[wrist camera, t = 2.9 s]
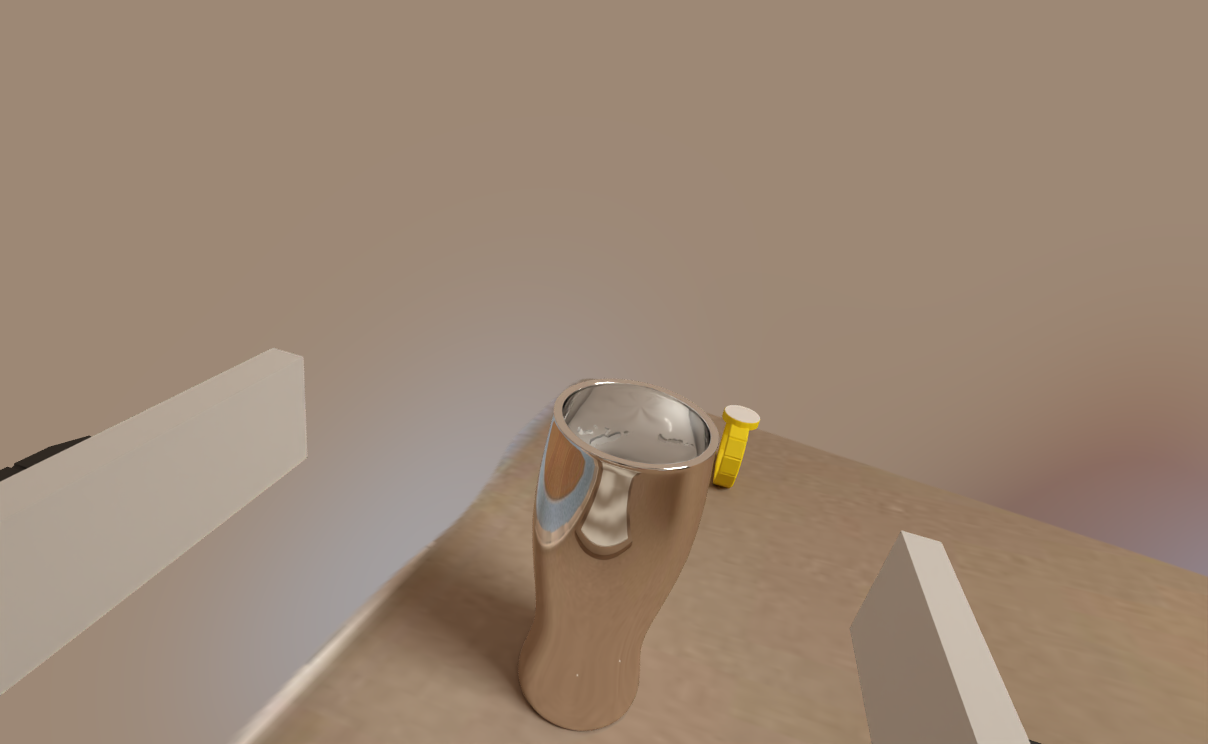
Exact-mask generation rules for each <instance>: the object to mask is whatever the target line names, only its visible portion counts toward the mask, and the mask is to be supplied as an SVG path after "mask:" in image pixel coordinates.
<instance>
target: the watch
mask: <svg viewBox="0 0 1208 744" xmlns="http://www.w3.org/2000/svg"><path fill="white" fill-rule="evenodd" d="M722 417H723V419H724V421H725V422H726V426H725V429H724V432H723V435H722V439H721V443H720V446H719V450H718V454H717V458H716V463H715V471H714V478H713V484H716V485H719V486H723V487H726V488H730V487H732V486H733V484H734V482H735V479H736V477H737V474H738V471H739V468H740V465H741V462H742V458H743V454H744V451H745V447H746V442H747V438H748V433H749V430H754V429H756V428H757V427H758V424H759V421H760V417H759V415H758V414H757V413H756V412H754V411H753V410H751V409H749V408H746V407H743V406H737V405H731V406H727V407H725V409H724V412H723V415H722Z"/></svg>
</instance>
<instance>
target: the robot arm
mask: <svg viewBox="0 0 1208 744" xmlns="http://www.w3.org/2000/svg"><path fill="white" fill-rule="evenodd" d="M306 458H307V438H306V411H305V385H304V357H303V356H300V355H296V354H293V353H289V352H286V351H282V350H279V349H275V348H272V349H270V350H268V351H266V352H264V353H262V354H259V355H258V356H255V357H253V358H251V359H249V360H247V361H245V362H243V363H241V364H239V365H237V366H235V367H233V368H231V369H229V370H227V371H225V372H223V373H221V374H219V375H217V376H215V377H213V378H211V379H209V380H206V381H205V382H202V383H200V384H198V385H196V386H194V387H192V388H190V389H188V390H186V391H184V392H182V393H180V394H178V395H176V396H174V397H172V398H170V399H168V400H166V401H164V402H162V403H160V404H158V405H155V406H153V407H152V408H149V409H147V410H145V411H143V412H142V413H139V414H137V415H135V416H133V417H131V418H129V419H127V420H125V421H123V422H121V423H119V424H117V425H115V426H113V427H111V428H109V429H107V430H105V431H103V432H101V433H99V434H96V435H94V436H92V437H91V436H86V437H83V438H79V439H75V440H72V441H68V442H65V443H61V444H58V445H54V446H51V447H48V448H46V449H44V450H42V451H40V452H38V453H36V454H33V455H31V456H29V457H27V458H25V459H23V460H21V461H19V462H16V463H15V464H14V466H13V467H12V468H9V467H6V468H4V469H2V470H0V695H2V694H3V693H4V692H6V691H7V690H8V689H10V688H11V687H12V686H13V685H15V684H16V683H17V682H19V680H21V679H22V678H24V677H25V676H26V675H28V674H29V673H30V672H31V671H33V670H34V669H35V668H37V667H38V666H39V665H40V664H42V663H43V662H44V661H46V660H47V659H48V658H49V657H51V656H52V655H53V654H55V653H56V652H57V651H58V650H60V649H61V648H62V647H64V646H65V645H66V644H67V643H69V642H70V641H71V640H73V639H74V638H75V637H77V636H78V635H79V634H80V633H82V632H83V631H84V630H86V629H87V628H88V627H89V626H91V625H92V624H93V623H95V622H96V621H97V620H98V619H100V618H101V617H102V616H104V615H105V614H106V613H108V612H109V611H110V610H111V609H113V608H114V607H115V606H117V605H118V604H119V603H120V602H122V601H123V600H124V599H125V598H127V597H128V596H129V595H130V594H132V593H133V592H134V591H136V590H137V589H138V588H140V587H141V586H142V585H144V584H145V583H146V582H147V581H149V580H150V579H151V578H153V577H154V576H155V575H156V574H158V573H159V572H160V571H162V570H163V569H164V568H165V567H167V566H168V565H169V564H171V563H172V562H173V561H175V560H176V559H177V558H178V557H180V556H181V555H182V554H183V553H185V552H186V551H187V550H189V549H190V548H191V547H193V546H194V545H195V544H196V543H198V542H199V541H200V540H202V539H203V538H204V537H206V536H207V535H208V534H209V533H211V532H212V531H213V530H214V529H216V528H217V527H218V526H220V525H221V524H222V523H224V522H225V521H226V520H227V519H229V518H230V517H231V516H232V515H234V514H235V513H236V512H238V511H239V510H240V509H242V508H243V507H244V506H245V505H247V504H248V503H249V502H251V501H252V500H253V499H254V498H256V497H257V496H258V495H260V494H261V493H262V492H263V491H265V490H266V489H267V488H269V487H270V486H271V485H273V484H274V483H275V482H276V481H278V480H279V479H280V478H282V477H283V476H284V475H285V474H287V473H288V472H289V471H291V470H292V469H293V468H294V467H296V466H297V465H298V464H299V463H301V462H302V461H303V460H305V459H306ZM850 632H851V637H852V643H853V648H854V653H855V658H856V664H857V669H858V674H859V679H860V685H861V690H862V695H863V700H864V705H865V711H866V716H867V721H868V726H869V732H870V737H871V742H872V744H1041V743H1038V742H1034V741H1031V740H1029V739H1028V737H1027V735H1026V733H1025V730H1024V728H1023V726H1022V723H1021V721H1020V719H1019V717H1018V714H1017V712H1016V710H1015V708H1014V705H1013V703H1012V701H1011V699H1010V696H1009V694H1008V692H1007V690H1006V687H1005V685H1004V683H1003V681H1002V678H1001V676H1000V674H999V671H998V669H997V667H996V665H995V662H994V660H993V658H992V656H991V653H990V651H989V649H988V647H987V644H986V642H985V640H984V638H983V635H982V633H981V631H980V629H979V626H978V624H977V622H976V619H975V617H974V615H973V613H972V610H971V608H970V606H969V604H968V601H967V599H966V597H965V595H964V592H963V590H962V588H961V586H960V583H959V581H958V579H957V576H956V574H955V572H954V570H953V567H952V565H951V563H950V561H949V558H948V556H947V554H946V552H945V549H944V547H943V545H942V543H941V542H939V541H935V540H932V539H929V538H925V537H922V536H918V535H915V534H911V533H908V532H905V531H901V532H900V534H899V536H898V538H897V540H896V541H895V543H894V545H893V547H892V549H891V551H890V553H889V555H888V557H887V558H886V560H885V562H884V564H883V566H882V568H881V570H880V572H879V574H878V576H877V577H876V579H875V581H874V583H873V585H872V587H871V589H870V591H869V593H868V594H867V596H866V598H865V600H864V602H863V604H862V606H861V608H860V610H859V611H858V613H857V615H856V617H855V619H854V621H853V623H852V625H851V627H850Z"/></svg>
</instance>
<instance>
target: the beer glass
mask: <svg viewBox="0 0 1208 744" xmlns="http://www.w3.org/2000/svg"><path fill="white" fill-rule="evenodd" d="M718 445H719V433H718V430H717V428H716V426H715V424H714V422H713V421H712V419H711V418H710V417H709V416H708V415H707V414H706V413H705V412H704V411H703V410H702V409H701V408H700V407H698V406H697V405H696V404H694V403H693V402H691V401H690V400H688V399H686V398H684V397H683V396H681V395H678V394H676V393H674V392H672V391H669V390H667V389H664V388H662V387H658V386H655V385H651V384H648V383H643V382H639V381H633V380H625V379H596V380H590V381H585V382H581V383H578V384H576V385H573V386H571V387H569V388H568V389H566V390H565V391H564V392H562V393H561V394H560V395H559V397H558V398H557V400H556V402H555V405H554V413H553V417H552V421H551V425H550V429H549V433H548V437H547V440H546V444H545V448H544V452H543V456H542V460H541V465H540V470H539V475H538V480H537V485H536V491H535V500H534V509H533V519H532V548H533V565H534V580H535V596H536V608H535V616H534V621H533V624H532V626H531V629H530V631H529V633H528V635H527V638H526V640H525V642H524V644H523V647H522V650H521V653H520V657H519V661H518V677H519V683H520V686H521V689H522V692H523V694H524V696H525V698H526V700H527V701H528V703H529V704H530V705H531V707H532V708H533V709H534V710H535V711H536V712H537V713H538V714H539V715H541V716H542V717H543V718H544V719H546V720H548V721H549V722H551V723H553V724H555V725H557V726H560V727H563V728H566V729H571V730H577V731H589V730H596V729H600V728H603V727H606V726H608V725H610V724H612V723H614V722H615V721H617V720H618V719H619V718H621V717H622V716H623V715H624V714H625V713H626V712H627V710H628V709H629V708H630V706H631V704H632V703H633V701H634V699H635V697H636V694H637V690H638V686H639V678H640V655H641V648H642V644H643V641H644V638H645V635H646V633H647V631H648V629H649V628H650V626H651V624H652V622H653V620H654V619H655V617H656V615H657V614H658V612H659V610H660V609H661V607H662V605H663V604H664V602H665V600H666V599H667V597H668V595H669V593H670V592H671V590H672V588H673V586H674V585H675V583H676V581H677V579H678V577H679V575H680V573H681V571H682V569H683V567H684V565H685V563H686V561H687V559H688V556H689V554H690V551H691V548H692V545H693V542H694V540H695V537H696V534H697V531H698V528H699V524H700V521H701V517H702V513H703V510H704V506H705V502H706V497H707V493H708V488H709V483H710V479H711V473H712V468H713V463H714V458H715V454H716V450H717V448H718Z"/></svg>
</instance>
